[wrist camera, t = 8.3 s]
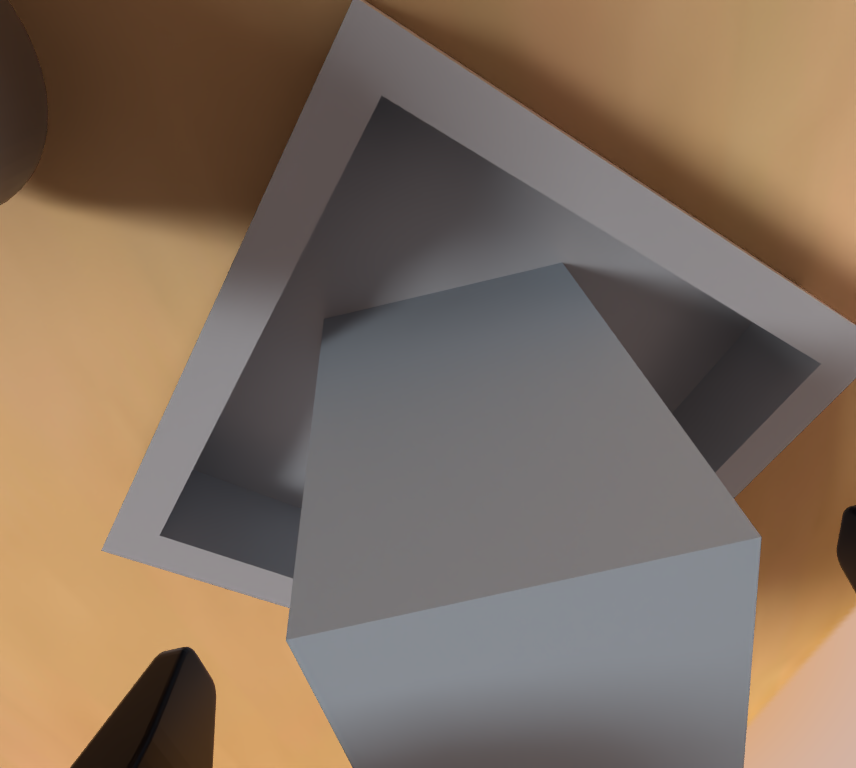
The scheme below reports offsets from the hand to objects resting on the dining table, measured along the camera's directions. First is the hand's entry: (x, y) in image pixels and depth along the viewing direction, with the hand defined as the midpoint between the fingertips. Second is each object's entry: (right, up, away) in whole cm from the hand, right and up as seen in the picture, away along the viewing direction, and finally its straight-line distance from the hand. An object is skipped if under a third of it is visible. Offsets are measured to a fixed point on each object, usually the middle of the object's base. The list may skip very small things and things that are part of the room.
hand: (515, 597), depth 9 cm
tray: (-1, +3, +5) cm, 6 cm away
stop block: (0, +3, +4) cm, 5 cm away
